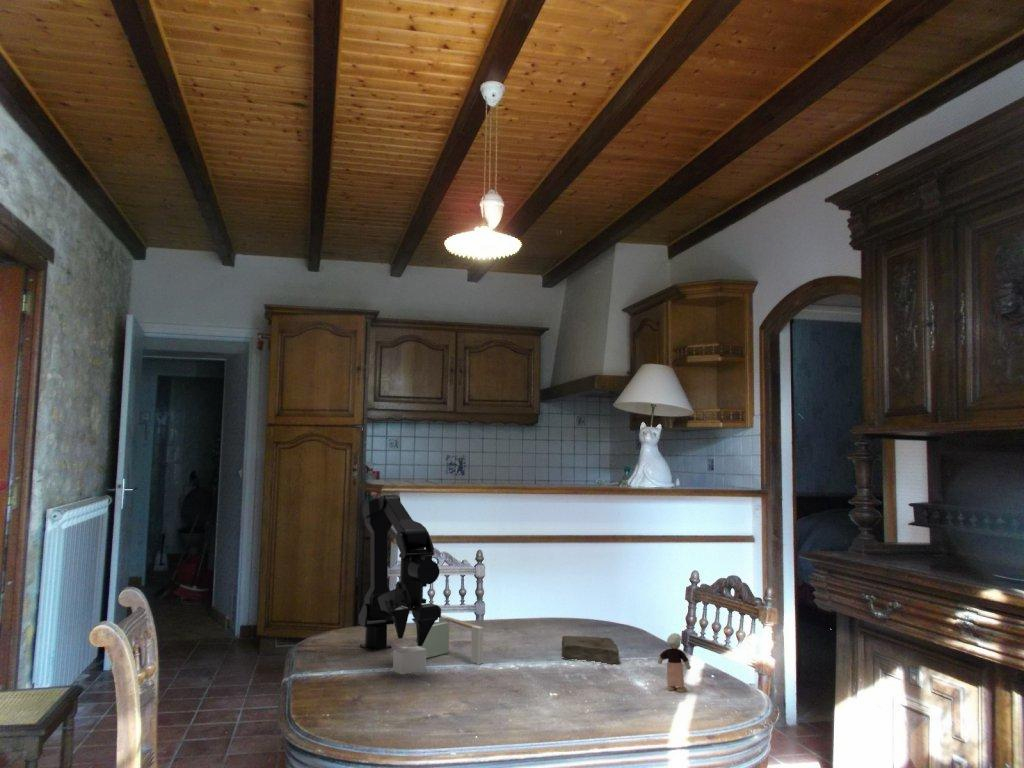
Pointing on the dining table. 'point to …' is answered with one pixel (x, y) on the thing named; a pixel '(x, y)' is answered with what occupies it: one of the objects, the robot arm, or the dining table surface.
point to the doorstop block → (409, 659)
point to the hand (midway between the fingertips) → (410, 642)
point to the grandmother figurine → (674, 663)
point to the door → (436, 640)
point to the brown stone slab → (590, 649)
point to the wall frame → (475, 640)
